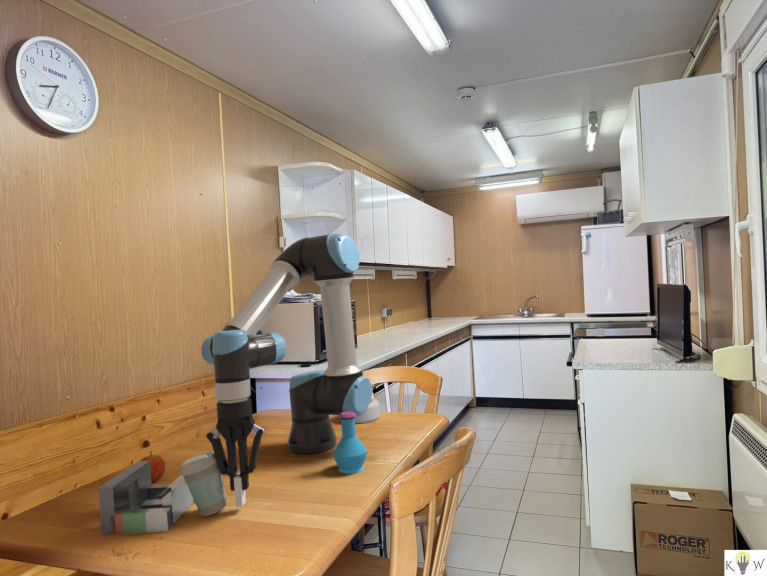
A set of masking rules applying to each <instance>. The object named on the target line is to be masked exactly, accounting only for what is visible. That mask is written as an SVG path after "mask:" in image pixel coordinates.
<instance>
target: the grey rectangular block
mask: <svg viewBox="0 0 767 576" xmlns="http://www.w3.org/2000/svg"><path fill="white" fill-rule="evenodd" d="M168 485H169V486H168V487H167V488H166V489H165V490H164V491H162V492H161V493H160V494H159V495H158V496H157V500H146V501H145V502H144V503H143V504H142V505H140V507H141V509H154V508H170V510H171V524H172V525H174V524H175V523H176V522H177V521H178V520H179V519H180V518H181V516H183V514H184V513H185V512H186V511H187V510H188V509H189V508H190V507H191V506H192V505H193V504H194V503H195V502H194V500H193V497H192V495H191V492H190V490H189V488H188V486H187V484H186V481H185V479H184V477H183V476H182V475H181V474H180V475H179V476H178V477H177V478H175V480H174V481H173V482H171V483H170V484H168Z"/></svg>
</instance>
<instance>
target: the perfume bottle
mask: <svg viewBox="0 0 767 576" xmlns="http://www.w3.org/2000/svg"><path fill="white" fill-rule="evenodd" d="M354 416H356V414H355V413H354V412H350V411H349V412H343V413H341V414H340V415H338V417H339V418H340V417H341V419H340V421H341V436H342V437H341V438H340V439H339V442H338V443H337V444H336V447H335V448H334V450H333V452H332V456H333V459H334V461H335V463H336V466H337V467H338V472H339V473H342V474H355V473H359V472H362V471H363V470H364V464H365V463H366V458H367V454H368V448H367V447H366V446H365V445H364V443H363V442H361V440H360V439H359V437H358V436H356V435H357V434H356V424H355V420H354V419H355V417H354Z"/></svg>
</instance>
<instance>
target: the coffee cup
mask: <svg viewBox="0 0 767 576" xmlns="http://www.w3.org/2000/svg"><path fill="white" fill-rule="evenodd" d="M181 475H182V476H183V477H184V479H185V481H186V484H187V486H188V488H189V490H190V492H191V495H192V497H193V499H194V501H195V502H194V503H195V505H196V507H197V509H198V512H199V513H200V516H201V517H208V516H211V515H214V514H216V513H218V512H220V511H221V510H223V509H224V508H225V507H226V506H227V504H228V502H227V496H226V491H225V486H224V482H223V475H222V474H221V473H220V470H219V466H218V463H217V460H216V457H215V453H214V450H211V451H207V452H204V453H201V454H197V455H195V456H193V457H191V458H189V459H187V460H186V461H184V462H182V463H181V465H180V476H181Z"/></svg>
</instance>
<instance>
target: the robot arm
mask: <svg viewBox="0 0 767 576" xmlns="http://www.w3.org/2000/svg"><path fill="white" fill-rule="evenodd" d="M360 263H361V257H360V251H359V247H358V246H357V244H356V242H355V241H354V240H353V238H352V237H351V236H349V235H348V234H346V233H329V234H325V235H317V236H312V237H304V238H303V237H302V238H301V239H298V240H297V241H295V242H293V243H292V244H290V245H289V246H288V247H286V248H285V249H284V250H283V251H282V252H281V253H280V254H279V255H278V256H277V257H276V258H275V260H273V262H272V263H271V264H270V271H269V272H268V274H267V275H266V276H265V277H264V279H263V280H262V281H261V282H260V284H259V285H258V286H257V287H256V289H255V290H253V292H252V293H251V295H250V296H249V297H248V298H247V299H246V300H245V302H244V303H243V304H242V306H241V307H240V308H239V309H238V310H237V311H236V312H235V314H234V315H233V317H232V318H231V319H230V321H228V323H227V324H226V326H225V327H224V328H223V329H222V330H221V331H220V330H219V331H217V332H215V333H214V334H213V335H211V336H208V337H206V338H205V339H204V340H203V342H202V344H201V347H200V350H201V351H200V352H201V357H202V359H203V360H204V361H205V362H206V363H208V364H209V365H213V369H214V382H215V383H214V385H215V399H216V400H217V403H216V416H217V422H216V425H215V428H214V429H212V430H210V431H209V432H207V434H206V436H205V437H206V439H207V440H208V441H209V442H210V443H211V444H210V445H211V446H212V451H214V453H215V457H216V460H217V463H218V466H219V470H220V473H221V475H222V476H224V475H225V476H227V477H229V487H230V491H231V492H234V499H235V508H239V507H244V505H245V503H246V502H247V497H246V491H247V490H248V489H249V486H250V481H249V480H250V479H249V474H252V473H254V472H255V471H256V469H257V464H258V459H259V453H260V448H261V443H262V442H261V441H262V437H263V436H264V433H265V431H266V427H264V426H262V427H261V426H259V425H257V424H256V420H255V419H254V416H253V406H252V399H251V398H250V397H251V396H252V394H251V393H252V392H251V390H252V389H251V376H250V375H251V374H250V370H251V369H255V368H259V367H263V366H269V365H270V366H273V365H274V364H276V363H280V362H281V361H282V360H284V358H285V357H286V355H287V352H288V351H287V350H288V349H287V343H286V340H285V338H284V337H283V336H282V335H281V334H279V333H276V332H271V333H270V332H267V333H266V332H265V334H258V332H259V330H260V329H261V328H262V327H263V325H264V324H265V322H267V320H268V319H269V317H270V316H271V315H272V313H273V312H274V311H275V309H276V308H277V306H278V305H279V304H280V302H281V301H282V300H283V298H284V297H285V296H286V294H287V293H288V292H289V290H290V289H291V288H292V287H296V286H297V285H298V284H299V283H300V282H301V280H303V279H305V278H306V277H307V278H308V277H314V278H313V279H314V283H315V284H317V286H319V287H320V299H321V307H322V319H323V328H324V339H325V350H326V361H327V367H326V369H319V370H317V369H316V370H311V371H306V372H302V373H298V374H295V375H292V377H290V378H289V389H288V391H289V403H290V413H291V414H290V415H291V427H290V432H289V436H288V437H287V438H288V439H287V450H288V451H289V452H290V453H294V454H304V455H305V454H307V455H308V454H316V453H322V452H325V451H328V450H331V449H333V448H334V447H335V446H337V445H338V443H337V442H338V441H337V435H336V433H335V430H334V428H333V425H332V422H331V419H330V416H339V415H340V414H341V413H343V412H349V411H350V412H354V413H355V414H356V416H360V415H362V414H363V413H364V412H365V411H366V410H367V408H368V406H369V404H370V401H371V398H372V397H373V384H372V382H371V381H370V378H369V377H367V376H365V375H364V374H363V373H364V371H363V367H362V366H360V365H359V364H358V363H357V354H356V353H357V352H356V344H355V332H354V323H353V322H354V321H353V311H352V303H351V302H352V300H351V291H350V285H351V282H352V281H353V279H354V278H355V277H354V273H355V272H356V271H357V270H358V269H359V267H360V266H359V264H360ZM252 431H253V432H252ZM251 432H252V435H253V440H252V444H251V445H252V446H251V450H250V451H251V452H250V458H249V456H248V454H249V453H248V437H249V436H250V434H251ZM220 436H221V437H223V439H224V440H225V447H226V452H225V450H224V447H223V443H222V441H221V438H220ZM236 443H237V445H236ZM236 446H237V447H238V448H237V447H236ZM237 449H238V459H239V461H238V459H237ZM226 453H227V456H226ZM237 462H239V469H238V463H237Z"/></svg>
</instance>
